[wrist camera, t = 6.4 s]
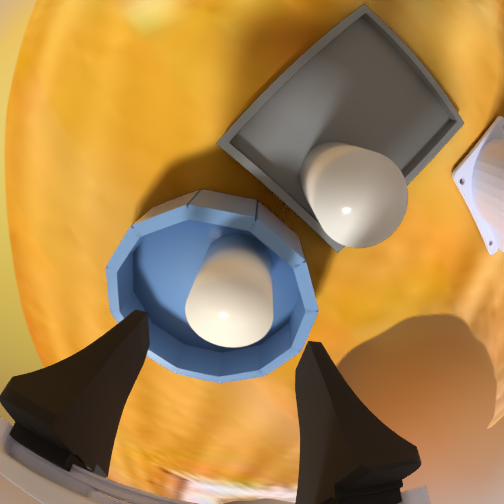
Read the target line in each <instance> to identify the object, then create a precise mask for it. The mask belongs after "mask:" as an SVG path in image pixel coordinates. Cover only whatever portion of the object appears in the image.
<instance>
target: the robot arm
mask: <svg viewBox="0 0 504 504" xmlns="http://www.w3.org/2000/svg"><path fill="white" fill-rule="evenodd" d="M503 126H504V117H502V116H498V117H497V118H496V119H495V121H494V122H493V123H492V125H491V126H490V127H489V129H488V130H487V131H486V132H485V134H484V135H483V136H482V137H481V139H480V140H479V141H478V142H477V144H476V145H475V146H474V147H473V148H472V150H471V151H470V152H469V153H468V154H467V156H466V157H465V158H464V159H463V160H462V161H461V163H460V164H459V165H458V166H457V167H456V168H455V169H454V171H453V173H452V178H453V180H454V182H455V184H456V186H457V187H458V189H459V191H460V193H461V195H462V197H463V198H464V200H465V202H466V204H467V206H468V208H469V210H470V212H471V214H472V216H473V218H474V220H475V223H476V225H477V227H478V229H479V231H480V234H481V236H482V238H483V241H484V243H485V245H486V248H487V250H488V252H489V254H491V255H493V254H495V253H496V251H497V250H498V249H499V250H501V251H502V252H503V253H504V128H503ZM461 178H462V182H461V183H460V179H461ZM149 346H150V338H149V322H148V312H144V311H140V310H136V309H135V310H134V311H133V312H131V313H130V314H129V315H128V316H126V317H125V318H124V319H123V320H122V321H120V322H119V323H118V324H117V325H116V326H114V327H113V328H112V329H110V330H109V331H108V332H107V333H105V334H104V335H103V336H101V337H100V338H99V339H97V340H96V341H94V342H93V343H92V344H90V345H89V346H87V347H86V348H84V349H82V350H81V351H79V352H77V353H76V354H74V355H72V356H70V357H68V358H66V359H64V360H62V361H60V362H58V363H56V364H53V365H51V366H48V367H46V368H43V369H40V370H37V371H34V372H31V373H27V374H23V375H19V376H14V377H12V378H11V380H10V381H9V383H8V384H7V386H6V387H5V389H4V390H3V392H2V393H1V395H0V402H1V404H2V406H3V407H4V408H5V410H6V411H7V412H8V413H9V415H10V416H11V417H12V418H13V419H14V420H15V422H16V423H15V424H14V426H12V425H11V424H10V423H9V422H7V421H6V420H5V419H3V418H2V417H0V474H1V475H3V476H4V477H5V478H7V479H8V480H9V481H10V482H12V483H13V484H14V485H16V486H17V487H19V488H20V489H21V490H23V491H24V492H26V493H27V494H29V495H30V496H32V497H33V498H35V499H37V500H38V501H39V502H41V503H43V504H124V503H122V502H119V501H117V500H115V499H112V498H110V497H108V496H111V497H114V498H117V499H119V500H122V501H125V502H128V503H131V504H197V503H191V502H186V501H181V500H176V499H172V498H168V497H164V496H160V495H156V494H152V493H149V492H145V491H142V490H138V489H135V488H132V487H129V486H126V485H123V484H120V483H117V482H115V481H112V480H109V479H107V478H106V477H108V472H109V466H110V460H111V454H112V450H113V445H114V441H115V437H116V433H117V429H118V425H119V422H120V418H121V415H122V412H123V409H124V406H125V403H126V401H127V398H128V396H129V394H130V392H131V389H132V387H133V385H134V383H135V381H136V379H137V377H138V375H139V372H140V370H141V368H142V366H143V364H144V361H145V358H146V355H147V352H148V349H149ZM295 391H296V400H297V409H298V418H299V426H300V464H299V478H298V488H297V496H296V503H295V504H431V502H430V498H429V493H428V489H427V486H426V485H424V486H420V487H417V488H414V489H410V490H407V491H404V492H402V493H401V492H400V488H401V487H403V483H402V479H404V478H405V477H407V476H409V475H410V474H412V473H413V472H415V471H416V470H417V469H418V468H419V467H420V466H421V460H420V456H419V453H418V450H417V447H416V446H414V445H413V444H411V443H409V442H408V441H406V440H405V439H403V438H402V437H400V436H399V435H397V434H396V433H395V432H393V431H392V430H391V429H389V428H388V427H387V426H386V425H385V424H383V423H382V422H381V421H380V420H379V419H378V418H377V417H376V416H375V415H374V414H372V412H370V410H369V409H368V408H367V407H366V406H365V405H364V404H363V403H362V402H361V401H360V400H359V398H358V397H357V396H356V395H355V393H354V392H353V391H352V389H351V388H350V387H349V385H348V384H347V383H346V381H345V380H344V378H343V377H342V375H341V374H340V372H339V371H338V369H337V368H336V366H335V364H334V363H333V361H332V360H331V358H330V356H329V355H328V353H327V351H326V350H325V348H324V346H323V345H322V343H321V342H312V341H308V343H307V345H306V348H305V350H304V352H303V355H302V357H301V359H300V361H299V364H298V366H297V368H296V375H295ZM99 492H101V493H103V494H106V495H108V496H105V495H103V494H101V493H99Z"/></svg>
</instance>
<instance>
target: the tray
mask: <svg viewBox="0 0 504 504" xmlns="http://www.w3.org/2000/svg"><path fill="white" fill-rule="evenodd" d="M463 124H464V122H463V120H462V119H461V117H460V115H459V114H458V112H457V111H456V109H455V107H454V106H453V104H452V103H451V101H450V100H449V98H448V97H447V96H446V94H445V93H444V91H443V90H442V88H441V87H440V86H439V84H438V83H437V82H436V80H435V79H434V78H433V76H432V75H431V74H430V73H429V71H428V70H427V69H426V67H425V66H424V65H423V64H422V63H421V61H420V60H419V59H418V58H417V57H416V55H415V54H414V53H413V52H412V51H411V50H410V49H409V47H408V46H407V45H406V44H405V43H404V42H403V41H402V40H401V39H400V38H399V37H398V36H397V35H396V33H395V32H394V31H393V30H392V29H391V28H390V27H389V26H388V25H387V24H386V23H385V22H383V21H382V20H381V19H380V18H379V17H378V16H377V15H376V14H375V13H374V12H373V11H372V10H371V9H369V8H368V7H367V6H366V5H365V4H363V5H362V6H361V7H359V8H358V9H357V10H355V11H354V12H353V13H351V14H350V15H349V16H348V17H346V18H345V19H344V20H342V21H341V22H340V23H339V24H338V25H336V26H335V27H334V28H333V29H331V30H330V31H329V32H328V33H327V34H325V35H324V36H323V37H322V38H321V39H320V40H318V41H317V42H316V43H315V44H314V45H313V46H312V47H310V48H309V49H308V50H307V51H306V52H305V53H304V54H303V55H302V56H300V57H299V58H298V59H297V60H296V61H295V62H294V63H293V64H292V65H291V66H290V67H289V68H288V69H286V70H285V71H284V72H283V73H282V74H281V75H280V76H279V77H278V78H277V79H276V80H275V81H274V82H273V83H272V84H271V85H270V86H269V87H268V88H267V89H266V90H265V91H264V92H263V93H262V94H261V95H260V96H259V97H258V98H257V99H256V100H255V101H254V102H253V103H252V104H251V106H250V107H249V108H248V109H247V110H246V111H245V112H244V113H243V114H242V115H241V116H240V117H239V118H238V119H237V121H236V122H235V123H234V124H233V125H232V126H231V127H230V128H229V129H228V131H227V132H226V133H225V134H224V135H223V136H222V137H221V139H220V140H219V141H218V142H217V143H216V144H217V145H218V146H220V147H221V148H222V149H223V150H224V151H226V152H227V153H228V154H229V155H230V156H232V157H233V158H234V159H235V160H236V161H237V162H239V163H240V164H241V165H242V166H243V167H245V168H246V169H247V170H248V171H249V172H250V173H251V174H253V175H254V176H255V177H256V178H257V179H258V180H260V181H261V182H262V183H263V184H264V185H265V186H266V187H267V188H269V189H270V190H271V191H272V192H273V193H274V194H275V195H276V196H278V197H279V198H280V199H281V200H282V201H283V202H284V203H285V204H286V205H287V206H289V207H290V208H291V209H292V210H293V211H294V212H295V213H296V214H297V215H298V216H299V217H301V218H302V219H303V220H304V221H305V222H306V223H307V224H308V225H309V226H310V227H311V228H312V229H313V230H314V231H315V232H316V233H318V234H319V235H320V236H321V237H322V238H323V239H324V240H325V241H326V242H327V243H328V244H329V245H330V246H331V247H332V248H333V249H334V250H335V251H336V252H337V253H338V252H339V251H341V250H342V249H343V248H344V247H345V246H344V245H342V244H340V243H338V242H336V241H334V240H333V239H332V238H331V237H329V236H328V235H327V233H326V232H325V231H324V230H323V228H322V227H321V225H320V223H319V221H318V219H317V217H316V215H315V214H314V212H313V210H312V208H311V206H310V204H309V203H308V201H307V199H306V197H305V195H304V193H303V191H302V189H301V186H300V181H299V172H300V167H301V164H302V162H303V160H304V158H305V156H306V155H307V154H308V153H309V152H310V151H311V150H312V149H313V148H314V147H316V146H318V145H320V144H322V143H325V142H333V141H335V142H342V143H346V144H350V145H353V146H357V147H360V148H364V149H367V150H371V151H374V152H377V153H380V154H382V155H384V156H386V157H387V158H389V159H390V160H392V161H393V162H394V163H395V164H396V165H397V167H398V168H399V169H400V171H401V172H402V174H403V176H404V178H405V181H406V184H407V185H408V184H409V183H410V182H411V181H412V180H413V179H414V178H415V177H416V176H417V175H418V174H419V173H420V172H421V171H422V170H423V169H424V168H425V166H426V165H427V164H428V163H429V162H430V161H431V160H432V159H433V158H434V157H435V156H436V155H437V154H438V152H439V151H440V150H441V149H442V148H443V147H444V146H445V145H446V144H447V142H448V141H449V140H450V139H451V138H452V137H453V136H454V135H455V133H456V132H457V131H458V130H459V129H460V128H461V127H462V125H463Z"/></svg>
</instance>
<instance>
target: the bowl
mask: <svg viewBox="0 0 504 504" xmlns="http://www.w3.org/2000/svg"><path fill="white" fill-rule="evenodd" d="M230 233H244V234H248V235H251V236H253V237H255V238H257V239H258V240H259V241H261V242H262V243H263V244H264V245H265V247H266V248H267V250H268V251H269V254H270V257H271V262H272V291H273V322H272V325H271V328H270V329H269V331H268V332H267V334H266V335H265V336H264V337H263V338H261V339H260V340H259V341H257V342H255V343H253V344H250V345H247V346H243V347H223V346H219V345H216V344H213V343H210V342H208V341H206V340H205V339H203V338H202V337H200V336H199V335H198V334H197V333H196V332H195V331H194V330H193V329H192V328H191V326H190V325H189V323H188V321H187V318H186V313H185V305H186V301H187V298H188V296H189V293H190V291H191V288H192V286H193V283H194V281H195V279H196V276H197V274H198V271H199V269H200V267H201V264H202V262H203V259H204V257H205V255H206V252H207V250H208V248H209V247H210V245H211V244H212V243H213V242H214V241H215V240H216V239H217V238H219V237H221V236H223V235H226V234H230ZM106 274H107V287H108V298H109V307H110V310H111V313H112V315H113V316H114V318H115V320H116V321H117V323H119V322H120V321H122V320H123V319H124V318H125V317H126V316H128V315H129V314H130V313H131V312H133V311H134V310H135V309H136V310H140V311H144V312H148V322H149V338H150V346H149V349H148V352H147V355H146V356H148V357H149V358H151V359H152V360H154V361H155V362H157V363H158V364H160V365H162V366H163V367H165V368H166V369H168V370H170V371H171V372H173V373H174V372H175V374H179V375H184V376H188V377H192V378H197V379H202V380H207V381H212V382H217V383H219V381H220V383H224V382H231V381H238V380H244V379H250V378H256V377H262V376H264V375H267V374H269V373H270V372H272V371H273V370H275V369H276V368H278V367H279V366H281V365H282V364H284V363H285V362H287V361H288V360H290V359H291V358H292V357H294V356H295V355H297V354H298V353H300V351H302V348H303V346H304V344H305V342H306V340H307V337H308V335H309V333H310V330H311V328H312V326H313V324H314V321H315V319H316V316H317V314H318V306H317V302H316V298H315V294H314V290H313V286H312V282H311V278H310V274H309V270H308V267H307V263H306V259H305V256H304V252H303V249H302V245H301V242H300V238H299V237H298V235H297V234H296V233H295V232H294V231H292V230H291V229H290V228H289V227H288V226H287V225H286V224H285V223H284V222H282V221H281V220H280V219H279V218H278V217H277V216H276V215H275V214H273V213H272V212H271V211H270V210H269V209H268V208H267V207H265V206H264V205H263V204H262V203H261V202H260V201H258V202H257V200H256V199H251V198H246V197H241V196H236V195H231V194H226V193H221V192H216V191H210V190H205V189H202V190H200V189H199V190H197V191H194V192H191V193H188V194H186V195H183V196H180V197H178V198H175V199H172V200H170V201H167V202H165V203H162V204H159V205H157V206H154V207H153V208H151V209H150V210H149V211H148V212H147V213H146V214H144V215H143V216H142V217H141V218H140V219H139V220H137V221H136V222H135V223H134V224H133V225H132V226H131V227H130V228H129V230H128V231H127V233H126V235H125V236H124V238H123V239H122V241H121V243H120V244H119V246H118V247H117V249H116V251H115V252H114V254H113V256H112V257H111V259H110V261H109V262H108V264H107V267H106Z"/></svg>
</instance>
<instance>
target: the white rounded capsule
mask: <svg viewBox="0 0 504 504" xmlns="http://www.w3.org/2000/svg"><path fill="white" fill-rule="evenodd" d="M185 313H186V318H187V321H188V323H189V325H190V326H191V328H192V329H193V330H194V331H195V332H196V333H197V334H198V335H199V336H200V337H202V338H203V339H205V340H206V341H208V342H210V343H213V344H216V345H219V346H223V347H243V346H247V345H250V344H253V343H255V342H257V341H259V340H260V339H261V338H263V337H264V336H265V335H266V334H267V332H268V331H269V329H270V328H271V325H272V322H273V291H272V262H271V257H270V254H269V251H268V250H267V248H266V247H265V245H264V244H263V243H262V242H261V241H259V240H258V239H257V238H255V237H253V236H251V235H248V234H244V233H230V234H226V235H223V236H221V237H219V238H217V239H216V240H215V241H214V242H213V243H212V244H211V245H210V247H209V248H208V250H207V252H206V255H205V257H204V259H203V262H202V264H201V267H200V269H199V271H198V274H197V276H196V279H195V281H194V283H193V286H192V288H191V291H190V293H189V296H188V298H187V301H186V305H185Z"/></svg>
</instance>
